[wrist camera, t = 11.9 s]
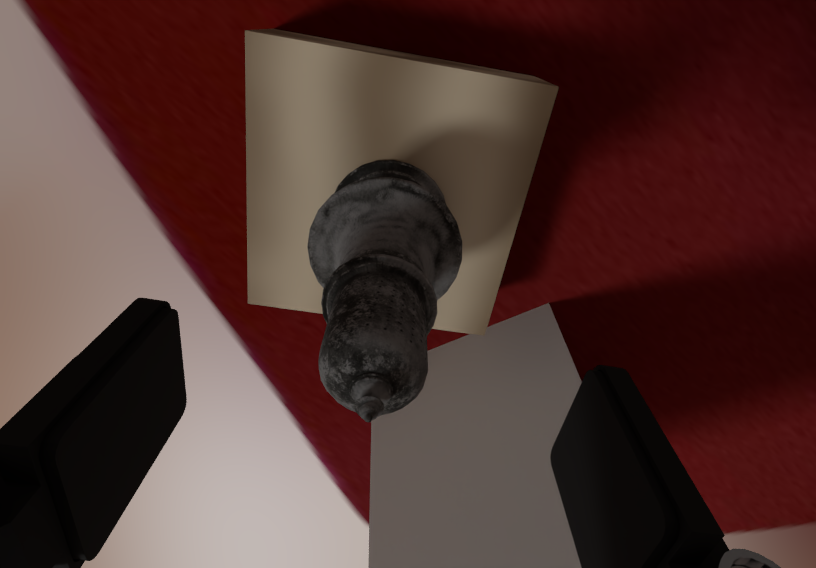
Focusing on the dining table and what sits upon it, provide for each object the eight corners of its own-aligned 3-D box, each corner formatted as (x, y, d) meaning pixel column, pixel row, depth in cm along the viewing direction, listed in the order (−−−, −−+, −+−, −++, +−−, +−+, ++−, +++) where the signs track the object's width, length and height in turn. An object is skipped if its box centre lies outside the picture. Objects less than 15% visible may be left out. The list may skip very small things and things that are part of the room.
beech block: (534, 76, 21) (558, 86, 18) (474, 295, 27) (484, 335, 24) (272, 28, 20) (244, 30, 17) (269, 266, 26) (248, 303, 23)
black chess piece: (422, 128, 19) (439, 262, 8) (474, 248, 21) (536, 465, 11) (297, 187, 20) (175, 369, 9) (360, 294, 23) (319, 528, 12)
